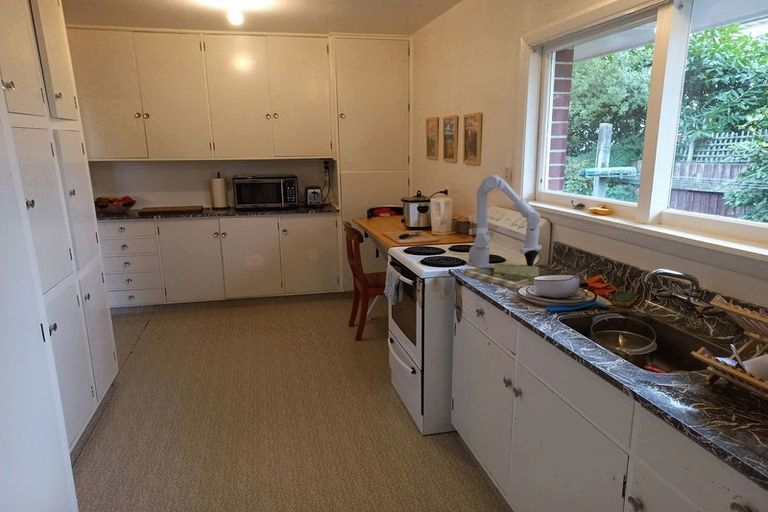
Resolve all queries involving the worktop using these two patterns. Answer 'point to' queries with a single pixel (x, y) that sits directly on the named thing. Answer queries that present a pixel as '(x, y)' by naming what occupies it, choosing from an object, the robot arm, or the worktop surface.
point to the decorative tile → (515, 272)
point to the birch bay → (494, 279)
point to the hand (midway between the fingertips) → (529, 266)
